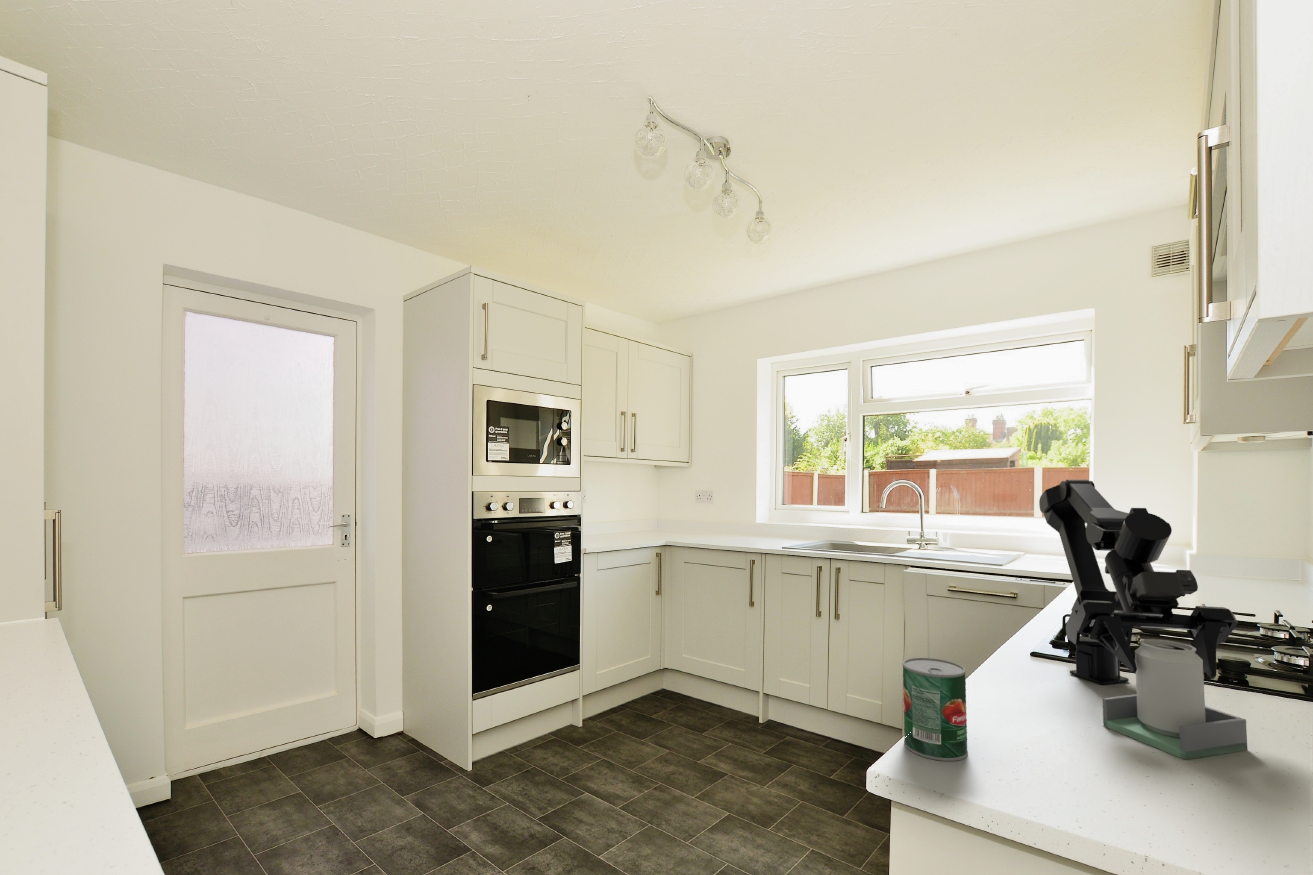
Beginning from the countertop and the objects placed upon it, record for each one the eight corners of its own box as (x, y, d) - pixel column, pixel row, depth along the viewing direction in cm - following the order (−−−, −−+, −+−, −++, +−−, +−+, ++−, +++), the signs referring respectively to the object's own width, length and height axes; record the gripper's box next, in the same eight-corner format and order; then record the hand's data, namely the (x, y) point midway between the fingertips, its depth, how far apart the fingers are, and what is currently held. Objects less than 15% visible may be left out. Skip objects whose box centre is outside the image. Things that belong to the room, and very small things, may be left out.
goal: (1160, 718, 95) (1159, 691, 95) (1247, 749, 84) (1245, 719, 84) (1103, 725, 92) (1102, 698, 92) (1185, 759, 81) (1184, 728, 81)
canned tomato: (900, 733, 89) (899, 655, 90) (960, 739, 87) (958, 659, 88) (908, 757, 81) (906, 672, 82) (974, 764, 79) (971, 677, 80)
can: (1219, 736, 86) (1215, 647, 86) (1183, 744, 83) (1178, 652, 84) (1160, 716, 93) (1157, 634, 93) (1125, 722, 90) (1121, 638, 91)
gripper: (1078, 547, 96) (1110, 638, 85) (1226, 551, 90) (1281, 649, 79) (1063, 589, 103) (1091, 678, 92) (1199, 596, 97) (1246, 691, 86)
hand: (1173, 674), depth 87 cm, fingers open, 9 cm apart
